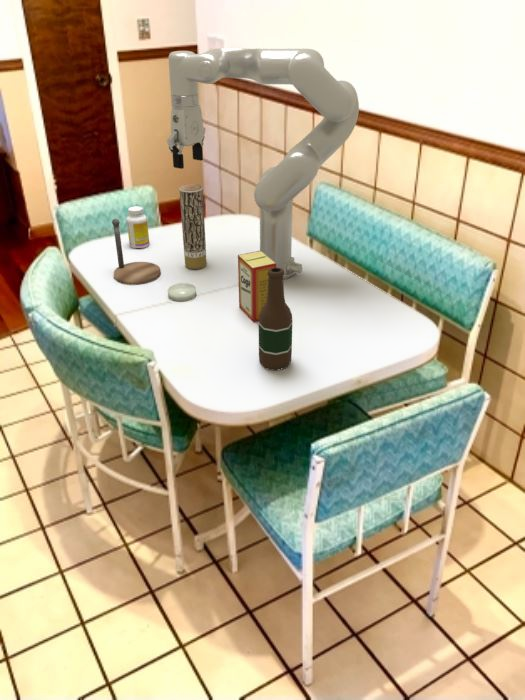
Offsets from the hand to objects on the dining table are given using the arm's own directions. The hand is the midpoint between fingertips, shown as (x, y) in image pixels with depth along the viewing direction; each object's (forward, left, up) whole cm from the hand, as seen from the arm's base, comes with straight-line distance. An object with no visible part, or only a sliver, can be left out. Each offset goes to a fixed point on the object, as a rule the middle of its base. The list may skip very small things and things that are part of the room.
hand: (188, 163), depth 183 cm
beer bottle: (-48, +38, -32) cm, 69 cm away
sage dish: (-8, +19, -32) cm, 38 cm away
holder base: (+12, +14, -32) cm, 37 cm away
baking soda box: (-32, +18, -32) cm, 49 cm away
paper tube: (0, 0, -32) cm, 32 cm away
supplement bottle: (+26, -5, -32) cm, 41 cm away
